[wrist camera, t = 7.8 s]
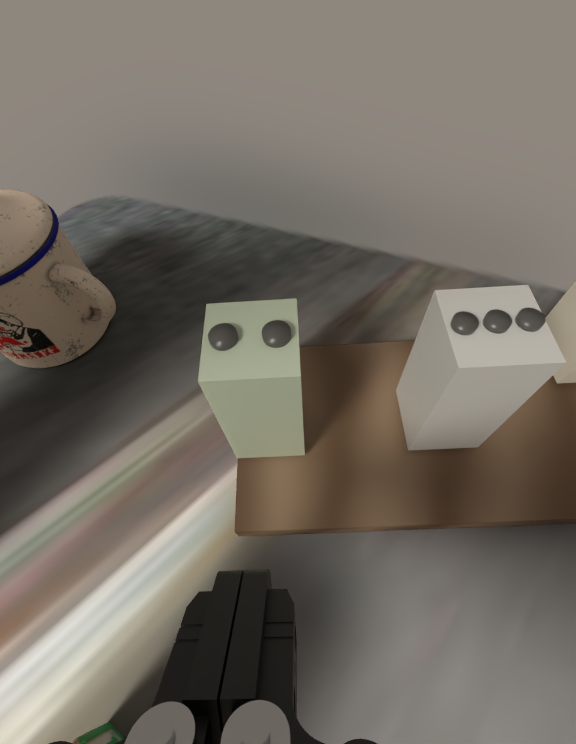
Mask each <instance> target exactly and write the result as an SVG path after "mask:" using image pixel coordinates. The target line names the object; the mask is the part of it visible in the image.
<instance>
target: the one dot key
mask: <svg viewBox="0 0 576 744" xmlns="http://www.w3.org/2000/svg"><path fill="white" fill-rule="evenodd" d="M545 319H546V322H547V324H548V326H549V328H550V330H551V332H552V334H553V336H554V338H555V340H556V343H557V345H558V347H559V349H560V351H561V353H562V355H563V357H564V359H565V361H566V363H565V364H564V365H563V366H562V367H561V368H560V369H559V370H558V371H557V372H556V373H555V374H554V375H553V376H554V378H555V380H556V382H557V383H576V281H575V282H574V283H573V285H572V286H571V287H570V288H569V289H568V291H567V292H566V293H565V294H564V296H563V297H562V298H561V299H560V301H559V302H558V303H557V304H556V306H555V307H554V308H553V309H552V310H551V312H550V313H549V314H548V315H547V317H546V318H545Z"/></svg>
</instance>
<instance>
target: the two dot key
mask: <svg viewBox="0 0 576 744" xmlns="http://www.w3.org/2000/svg"><path fill="white" fill-rule="evenodd" d="M198 383H199V385H200V387H201V389H202V391H203V393H204V395H205V397H206V399H207V401H208V403H209V405H210V407H211V408H212V410H213V412H214V414H215V416H216V418H217V420H218V422H219V424H220V426H221V428H222V430H223V432H224V434H225V436H226V438H227V440H228V442H229V444H230V446H231V448H232V450H233V452H234V454H235V456H236V457H237V458H256V457H278V456H300V455H305V449H304V429H303V409H302V389H301V370H300V351H299V332H298V314H297V298H296V299H279V300H262V301H245V302H228V303H211V304H206V313H205V322H204V331H203V340H202V349H201V358H200V367H199V376H198Z"/></svg>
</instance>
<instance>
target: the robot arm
mask: <svg viewBox="0 0 576 744" xmlns="http://www.w3.org/2000/svg"><path fill="white" fill-rule="evenodd" d="M50 744H71V743H69V742H66V741H58V742H53V743H50ZM115 744H324V743H322V742H320V741H318V740H316V739H314V738H313V737H311V736H310V735H309V734H308V733H307V732H306V731H305V730H304V729H303V728H302V726H301V725H300V724H299V722H298V720H297V642H296V627H295V612H294V603H293V601H292V599H291V597H290V595H289V592H288V590H287V589H271V576H270V570H269V569H267V570H245V571H243V570H239V571H219V572H218V573H217V576H216V579H215V583H214V587H213V590H212V591H206V592H199V593H198V594H197V595H196V596H195V598H194V599H193V600H192V601H191V602H190V604H189V605H188V606H187V608H186V611H185V614H184V617H183V620H182V623H181V628H179V631H178V634H177V637H176V642H175V643H174V646H173V649H172V652H171V655H170V657H169V660H168V663H167V666H166V669H165V672H164V675H163V678H162V681H161V684H160V686H159V689H158V692H157V695H156V698H155V701H154V703H153V706H152V708H151V709H149V710H148V711H147V712H145V713H144V714H143V715H142V716H141V717H140V718H139V719H138V720H137V722H136V723H135V724H134V726H133V727H132V729H131V731H130V733H129V734H128V736H127V737H126V738H124V739H123V740H121V741H119V742H117V743H115ZM344 744H377V743H375V742H373V741H370V740H366V739H354V740H351V741H348V742H346V743H344Z"/></svg>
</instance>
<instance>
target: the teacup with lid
mask: <svg viewBox="0 0 576 744" xmlns="http://www.w3.org/2000/svg"><path fill="white" fill-rule="evenodd" d="M115 312H116V304H115V300H114V298H113V296H112V294H111V293H110V291H109V290H108V289H107V288H106V286H105V285H104V284H103V283H102V282H100V281H99V280H98V279H97V278H95V277H94V276H92V274H91V273H90V271H89V270H88V268H87V267H86V265H85V264H84V262H83V261H82V259H81V258H80V256H79V255H78V253H77V252H76V250H75V249H74V247H73V246H72V244H71V243H70V241H69V240H68V238H67V237H66V235H65V234H64V232H63V231H62V229H61V228H60V226H59V222H58V218H57V215H56V214H55V212H54V210H53V209H52V208H51V207H50V206H49V205H47V204H46V203H45V202H44V201H43V200H41V199H39V198H38V197H36V196H34V195H32V194H29V193H26V192H22V191H16V190H0V352H1V353H2V354H4V355H5V356H6V357H7V358H9V359H10V360H11V361H13V362H14V363H16V364H18V365H21V366H24V367H29V368H48V367H54V366H58V365H61V364H64V363H67V362H69V361H72V360H74V359H76V358H77V357H79V356H81V355H82V354H84V353H85V352H87V351H88V350H89V349H90V348H92V347H93V346H94V345H95V344H96V343H97V342H98V341H99V339H100V338H101V337H102V336H103V334H104V332H105V331H106V329H107V327H108V324H109V321H110V320H111V319H112V317H113V316H114V314H115Z"/></svg>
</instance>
